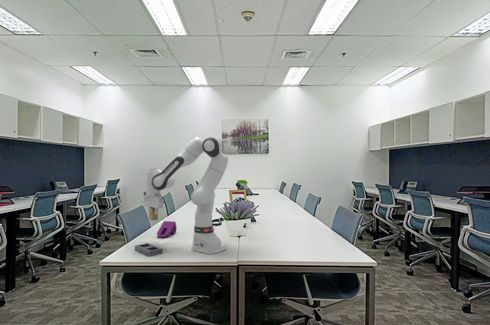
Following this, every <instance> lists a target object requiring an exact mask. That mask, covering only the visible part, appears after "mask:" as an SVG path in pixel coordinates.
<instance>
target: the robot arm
mask: <svg viewBox="0 0 490 325" xmlns="http://www.w3.org/2000/svg"><path fill="white" fill-rule="evenodd" d="M224 146H225V145H224V143H223V141H221V140H220V139H218V138H216V137H212V136H211V137H210V136H209V137H207V138H205V139H203V138H201V137H199V136H195V137H194V138H192V139H191V140H189V142H188V143H187V144H186V145H185V146H184V147H183V148H182V150H181V151H180V152H179V153H178V154H177V155H176V156H175V158H174V159H173V160H171V161H170V163H169V164H168V165H167V166H165V168H164V169H163V170H161V169H159V168H151V169H149V170H147V172H146V185H147V186H146V189H145V190H144V191H143V193H142V194H143V204H144V205H143V206H145V207H148V209H149V208H151V207H154V209H155V211H154V214H155V215H156V214H157V211H158V212H159V209H163V208H164V198H163V197H162V194H161V191H162V190H166V189H170V188H171V187H173V186H174V185H175V177H174V174H175V173H176V172H178V170H180V169H181V168H184V167H188V166H190V165H191V164H193V163H194V162H195V161H196V160H197V159H199V157H200V156H201V155H202V154H204V153H205V154H207V156H208V157H209V158H211V159H210V162H209V164H208V166H207V168H206V171H205V173H204V174H203V176H202V178H201V179H200V181H199V183H198V184H197V185H196V187H195V189H194V190H193V191H192V193H191V195H190V200H191V202H192V204H194V205H195V206H196V211H195V213H194V227H193V233H194V232H195V234H193V236H192V247H191V248H190V250H191V251H193V252H198V253H203V254H207V255H211V254H217V253H221V252H224V251H225V250H226V248H225V247H223V246H222V241H221V238H220V237H219V236H217V234H216V233H215V227H214V226H213V209H214V204H215V197H216V192H215V190H216V189H217V187H218V186H219V184H220V182H221V180H222V178H223V176H224V174H225V172H226V169H227V167H228V164H229V157H228V156H227V154H225V153H223V151H224V149H225V148H224Z"/></svg>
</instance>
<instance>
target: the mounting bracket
mask: <svg viewBox="0 0 490 325" xmlns="http://www.w3.org/2000/svg"><path fill="white" fill-rule="evenodd" d="M176 234H177V223H176V221H174V220H173V221H170V220H169V221H168V220H164V221H163V222H162V224H161V225H160V227H159V228H158V230H157V231H156V236H157V238H158V239H167V238H168V237H170V236H171V235H172V236H174V235H176Z"/></svg>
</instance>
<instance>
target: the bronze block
mask: <svg viewBox="0 0 490 325" xmlns="http://www.w3.org/2000/svg"><path fill="white" fill-rule="evenodd" d="M148 209H149V210H148V211H149V212H148V213H149V214H148V219H149V221H153V222H154V221H157V220H159V213H158V212H159V210H158V211H157V214H156V215H155V214H154V211H155V209H154V207H151V208H149V207H148Z"/></svg>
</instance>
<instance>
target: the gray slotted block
mask: <svg viewBox="0 0 490 325" xmlns="http://www.w3.org/2000/svg"><path fill="white" fill-rule="evenodd" d="M163 250H164V249H163V248H162V247H160V246H157V245H154V244H151V243H149V242H147V243H141V244H136V245H134V251H135V252H137V253H140V254H142V255H144V256H147V257H153V256H158V255H163V254H162V253H163Z"/></svg>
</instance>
